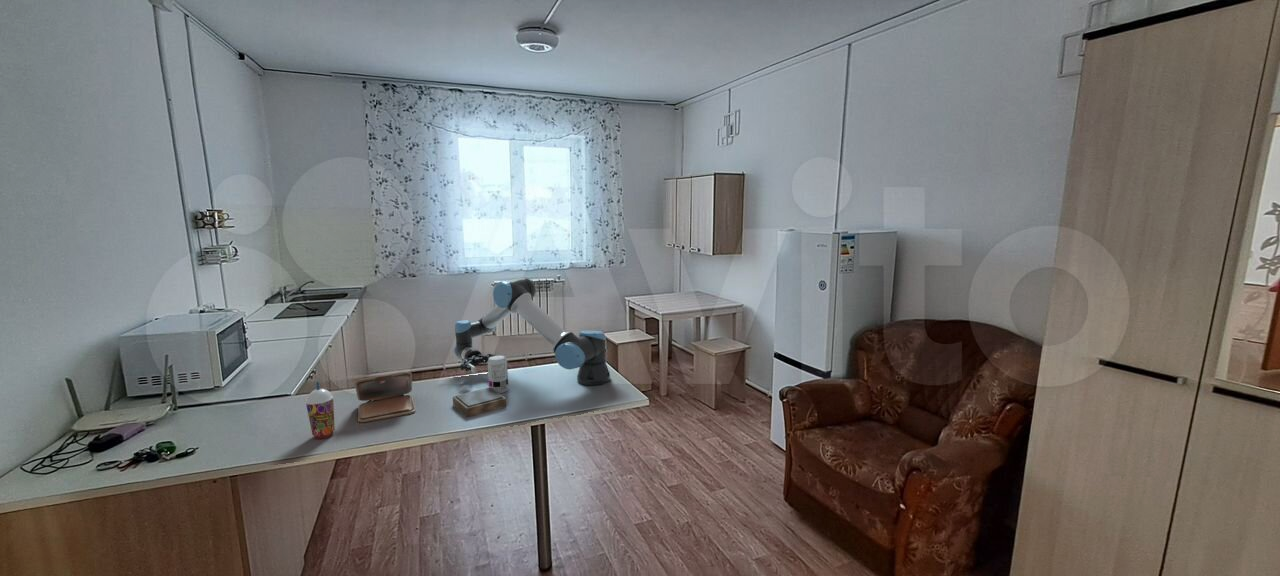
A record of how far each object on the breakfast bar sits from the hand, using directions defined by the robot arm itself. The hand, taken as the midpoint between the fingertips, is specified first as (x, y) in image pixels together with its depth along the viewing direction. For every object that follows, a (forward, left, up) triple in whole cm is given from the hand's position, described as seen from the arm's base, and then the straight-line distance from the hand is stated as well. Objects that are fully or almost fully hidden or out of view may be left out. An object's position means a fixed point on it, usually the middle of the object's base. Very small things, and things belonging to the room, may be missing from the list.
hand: (489, 366), depth 227 cm
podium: (+13, +20, -8) cm, 26 cm away
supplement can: (0, +9, -9) cm, 13 cm away
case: (+43, -1, -9) cm, 44 cm away
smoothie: (+66, +10, -9) cm, 67 cm away
